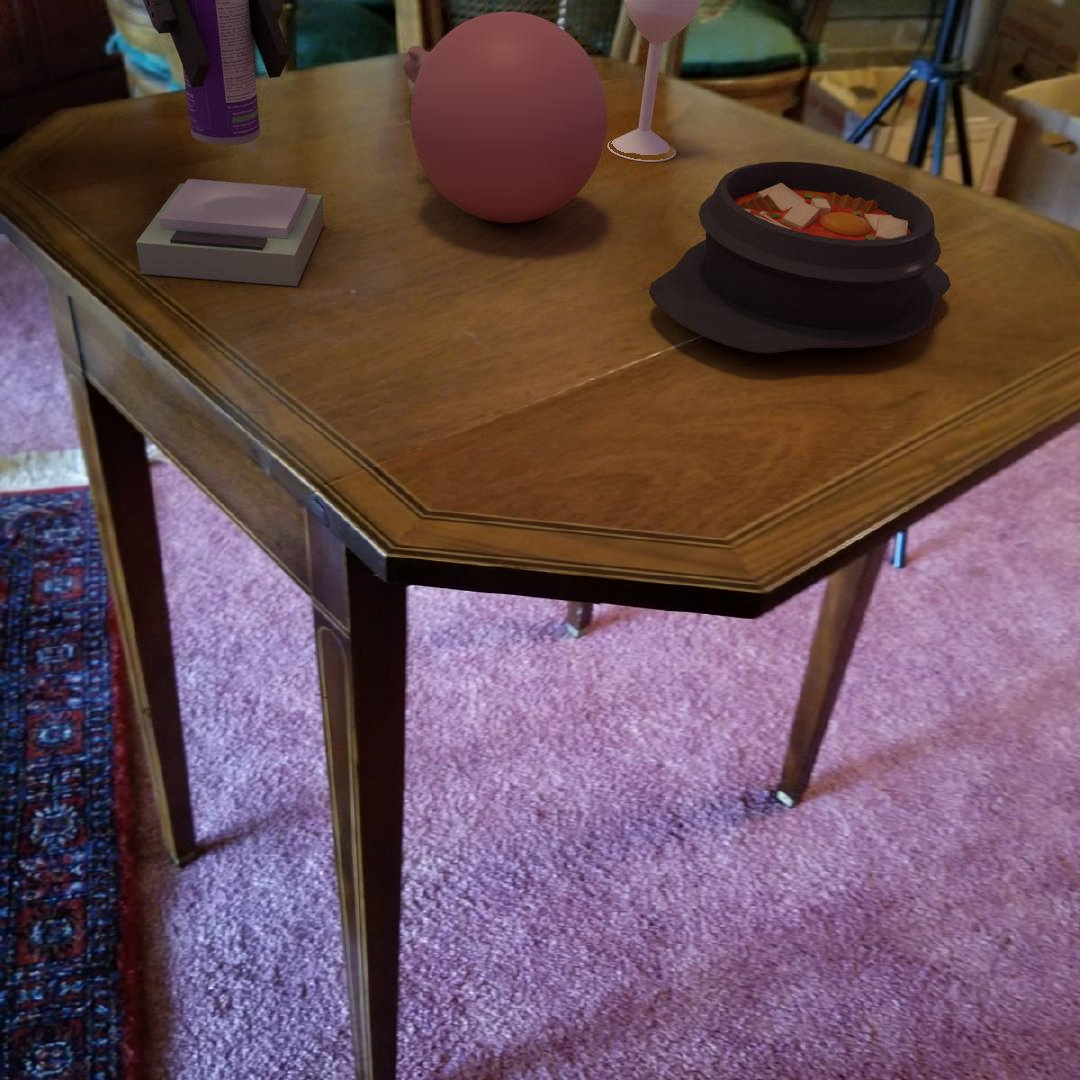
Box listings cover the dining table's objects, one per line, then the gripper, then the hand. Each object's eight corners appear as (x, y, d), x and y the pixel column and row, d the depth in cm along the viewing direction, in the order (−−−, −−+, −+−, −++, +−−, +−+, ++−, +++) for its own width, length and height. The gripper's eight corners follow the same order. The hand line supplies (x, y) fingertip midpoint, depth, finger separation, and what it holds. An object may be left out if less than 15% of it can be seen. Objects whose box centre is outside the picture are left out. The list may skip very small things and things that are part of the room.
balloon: (487, 152, 101) (496, -30, 91) (634, 229, 90) (661, 30, 80) (344, 181, 93) (337, -16, 83) (485, 271, 81) (496, 54, 72)
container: (176, 133, 75) (143, -117, 66) (227, 117, 78) (202, -123, 69) (223, 150, 73) (196, -104, 64) (274, 134, 77) (255, -111, 67)
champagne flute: (598, 137, 107) (630, -150, 91) (663, 136, 108) (704, -146, 93) (618, 162, 102) (654, -137, 86) (685, 161, 103) (733, -133, 88)
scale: (140, 274, 77) (133, 231, 75) (183, 213, 85) (178, 173, 83) (296, 286, 77) (294, 244, 75) (324, 224, 86) (322, 184, 84)
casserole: (777, 413, 69) (808, 292, 63) (590, 295, 80) (602, 183, 74) (1001, 320, 82) (1042, 212, 76) (813, 229, 92) (838, 130, 87)
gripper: (-39, -330, 62) (111, 53, 63) (251, -310, 71) (381, 25, 72) (-39, -228, 69) (96, 117, 69) (227, -221, 78) (345, 85, 78)
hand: (240, 70), depth 70 cm, fingers closed on container, 5 cm apart
